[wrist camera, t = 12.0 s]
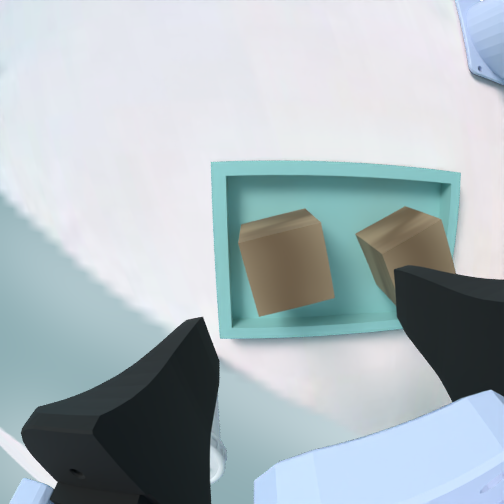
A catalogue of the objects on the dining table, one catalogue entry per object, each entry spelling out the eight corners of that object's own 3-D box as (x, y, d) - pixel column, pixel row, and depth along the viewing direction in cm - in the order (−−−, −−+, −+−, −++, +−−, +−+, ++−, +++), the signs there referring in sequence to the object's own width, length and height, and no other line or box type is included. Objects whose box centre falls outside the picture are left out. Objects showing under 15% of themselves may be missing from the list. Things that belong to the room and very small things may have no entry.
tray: (447, 171, 18) (460, 172, 17) (429, 314, 21) (439, 323, 20) (214, 162, 18) (210, 162, 17) (221, 326, 21) (219, 338, 20)
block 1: (305, 208, 19) (321, 222, 14) (317, 268, 20) (335, 297, 16) (241, 224, 19) (238, 243, 15) (257, 283, 20) (258, 317, 16)
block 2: (405, 206, 19) (441, 219, 14) (422, 256, 20) (457, 279, 15) (355, 233, 19) (381, 254, 15) (376, 284, 20) (403, 313, 16)
